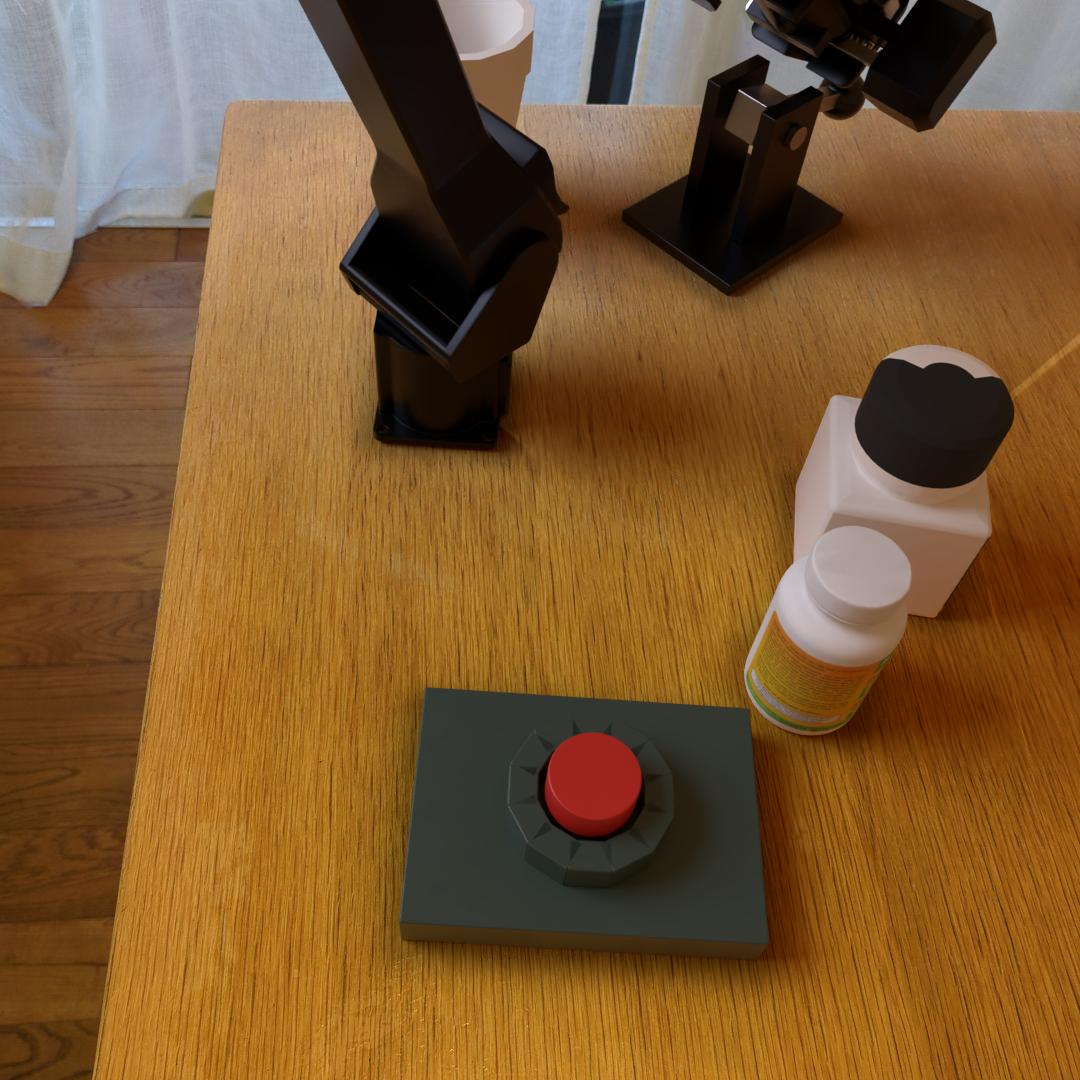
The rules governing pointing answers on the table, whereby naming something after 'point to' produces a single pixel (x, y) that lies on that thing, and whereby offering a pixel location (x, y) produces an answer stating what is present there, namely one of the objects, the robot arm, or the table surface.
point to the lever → (763, 96)
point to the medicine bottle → (910, 465)
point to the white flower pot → (493, 49)
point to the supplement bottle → (829, 631)
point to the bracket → (739, 189)
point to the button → (592, 784)
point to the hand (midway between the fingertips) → (855, 65)
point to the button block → (574, 860)
